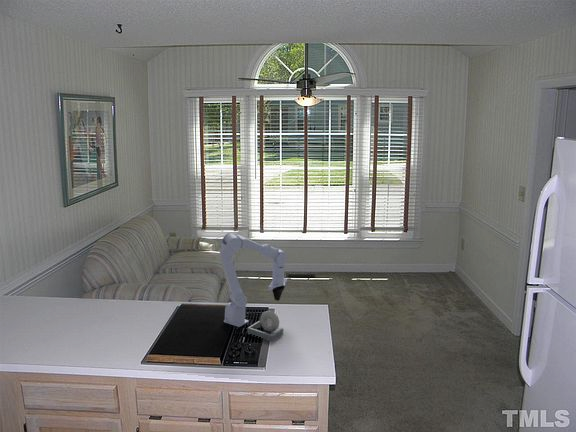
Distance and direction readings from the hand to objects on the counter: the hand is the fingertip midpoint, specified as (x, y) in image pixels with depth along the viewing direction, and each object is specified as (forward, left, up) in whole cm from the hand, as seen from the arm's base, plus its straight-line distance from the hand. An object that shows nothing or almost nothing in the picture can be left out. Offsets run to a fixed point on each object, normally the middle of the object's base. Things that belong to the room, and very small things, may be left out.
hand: (277, 299), depth 251 cm
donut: (+5, -15, -10) cm, 18 cm away
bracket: (+6, -18, -9) cm, 21 cm away
